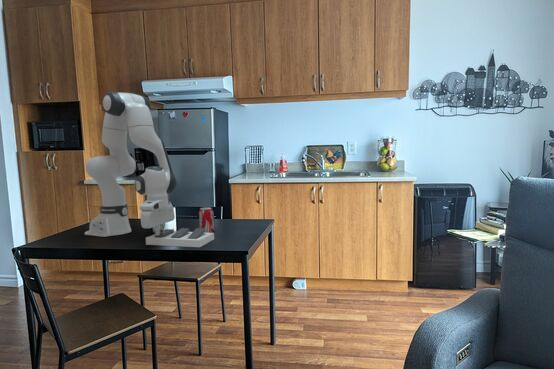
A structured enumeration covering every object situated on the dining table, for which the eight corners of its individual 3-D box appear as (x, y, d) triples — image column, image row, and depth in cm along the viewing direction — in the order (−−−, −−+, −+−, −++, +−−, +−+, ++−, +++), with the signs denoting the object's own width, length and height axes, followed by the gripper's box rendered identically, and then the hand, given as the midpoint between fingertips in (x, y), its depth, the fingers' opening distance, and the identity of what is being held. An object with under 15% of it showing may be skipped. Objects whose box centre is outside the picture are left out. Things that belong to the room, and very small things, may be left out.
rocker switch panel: (146, 244, 165) (145, 237, 165) (164, 237, 178) (163, 230, 178) (199, 247, 158) (199, 240, 158) (214, 239, 171) (213, 232, 171)
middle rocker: (171, 239, 164) (170, 236, 164) (181, 231, 173) (180, 228, 172) (179, 240, 163) (178, 237, 163) (189, 231, 172) (188, 228, 171)
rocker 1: (155, 237, 166) (154, 233, 166) (166, 232, 175) (166, 229, 175) (163, 237, 165) (162, 234, 165) (173, 232, 174) (173, 229, 174)
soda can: (211, 233, 182) (210, 209, 181) (197, 233, 184) (196, 209, 183) (216, 230, 189) (215, 207, 188) (203, 230, 191) (202, 207, 189)
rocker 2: (187, 241, 162) (187, 238, 162) (197, 231, 170) (196, 228, 170) (196, 241, 161) (195, 238, 161) (205, 231, 169) (204, 228, 169)
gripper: (165, 200, 176) (167, 229, 177) (136, 206, 156) (139, 239, 157) (176, 200, 174) (178, 229, 175) (149, 206, 154) (152, 239, 156)
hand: (160, 234), depth 166 cm, fingers closed, pressing on rocker 1
